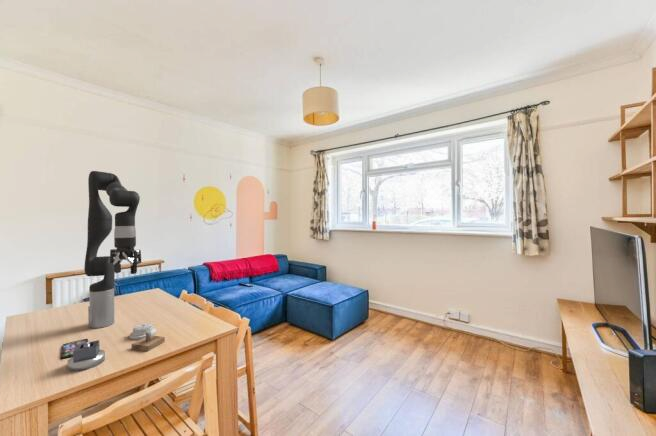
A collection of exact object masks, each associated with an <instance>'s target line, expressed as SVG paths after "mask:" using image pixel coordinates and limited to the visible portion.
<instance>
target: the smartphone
mask: <svg viewBox="0 0 656 436" xmlns="http://www.w3.org/2000/svg"><path fill="white" fill-rule="evenodd" d="M85 342H89V339H88V338H84V339H83V338H82V339H80V340H75V341H70V342H67V343H64V344H63V345H62V346H61V356H60V360H66V359H70V358H71V357H73V351H74V350H75V348H76V346H77V345H78V344H82V343H85Z"/></svg>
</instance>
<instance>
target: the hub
mask: <svg viewBox="0 0 656 436" xmlns="http://www.w3.org/2000/svg"><path fill="white" fill-rule="evenodd" d="M90 342H91V341H88V342H85V343H84V345H83V348H86V347H90ZM105 360H106V351H105V350H103V349H99V353H98V355H97V357H96V358H94V359H89V360H84V361H80V362H75V363H73V357H71V358H68V360H67V372H68V371H69V372H83V371H86V370H90V369H92V368H94V367H97V366H99V365H100V364H103V362H104V361H105Z"/></svg>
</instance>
